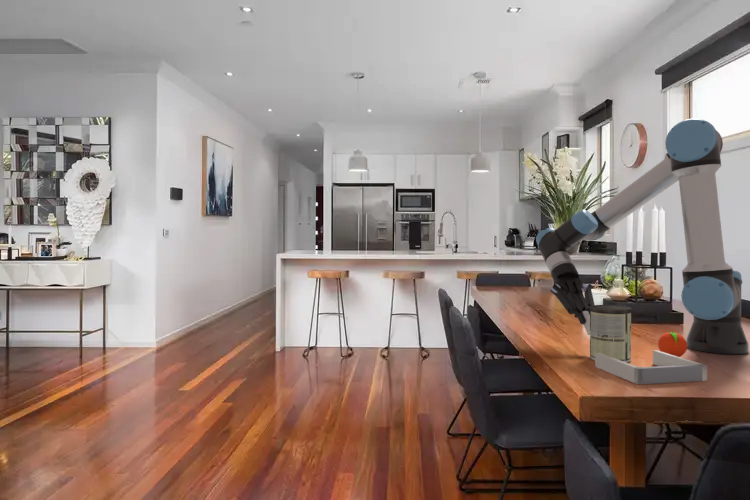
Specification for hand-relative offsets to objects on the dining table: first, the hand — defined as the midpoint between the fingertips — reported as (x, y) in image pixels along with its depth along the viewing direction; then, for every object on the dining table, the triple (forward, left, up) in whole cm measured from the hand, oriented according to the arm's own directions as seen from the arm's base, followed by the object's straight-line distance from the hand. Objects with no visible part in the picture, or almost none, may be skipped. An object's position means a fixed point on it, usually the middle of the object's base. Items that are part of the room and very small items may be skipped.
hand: (592, 332), depth 147 cm
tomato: (-20, -1, -6) cm, 21 cm away
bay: (-11, +19, -6) cm, 23 cm away
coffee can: (-4, +6, -6) cm, 10 cm away
